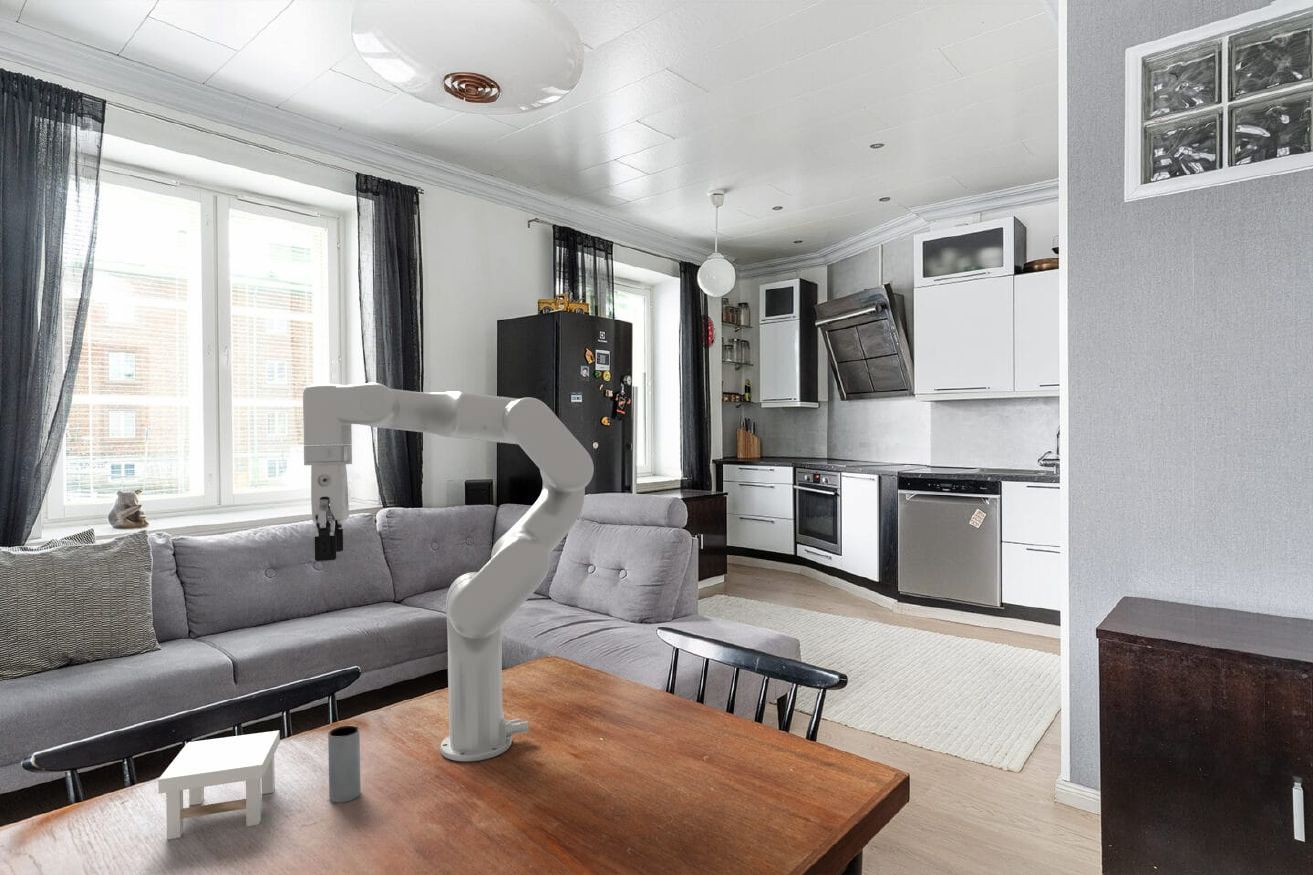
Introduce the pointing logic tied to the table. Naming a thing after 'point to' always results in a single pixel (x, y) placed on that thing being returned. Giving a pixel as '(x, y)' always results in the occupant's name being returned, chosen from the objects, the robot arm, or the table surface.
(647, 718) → the table surface
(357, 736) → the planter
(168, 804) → the stool
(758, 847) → the table surface
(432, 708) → the table surface
